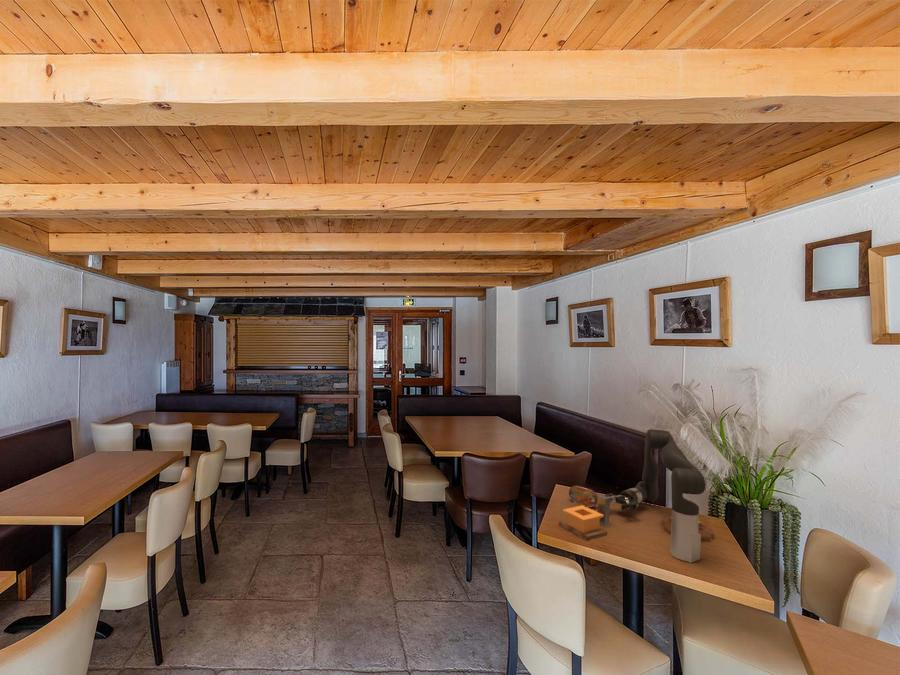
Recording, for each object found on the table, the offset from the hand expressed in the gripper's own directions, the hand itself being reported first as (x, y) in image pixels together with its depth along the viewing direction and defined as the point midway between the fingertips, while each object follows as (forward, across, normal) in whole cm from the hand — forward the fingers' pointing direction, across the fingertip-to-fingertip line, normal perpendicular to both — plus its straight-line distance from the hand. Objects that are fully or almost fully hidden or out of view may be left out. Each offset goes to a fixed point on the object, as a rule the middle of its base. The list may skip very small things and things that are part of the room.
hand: (613, 504), depth 197 cm
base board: (+21, -2, +7) cm, 22 cm away
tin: (-5, -19, +7) cm, 21 cm away
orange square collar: (+21, -2, +5) cm, 22 cm away
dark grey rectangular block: (+8, 0, +7) cm, 11 cm away
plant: (-17, +26, +8) cm, 32 cm away
